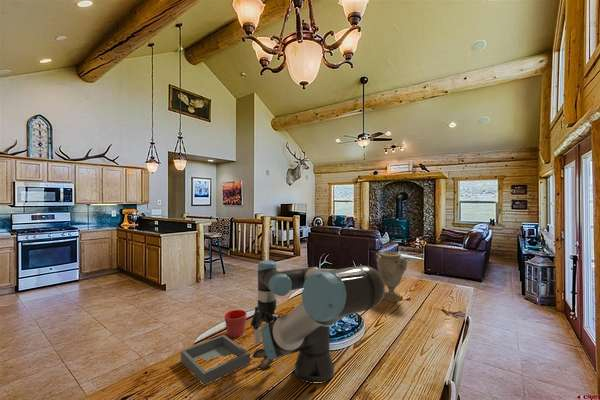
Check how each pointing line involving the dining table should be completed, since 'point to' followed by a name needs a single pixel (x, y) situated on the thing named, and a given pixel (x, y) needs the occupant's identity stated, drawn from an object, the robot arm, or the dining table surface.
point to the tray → (214, 349)
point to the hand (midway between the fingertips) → (267, 350)
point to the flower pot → (235, 322)
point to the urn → (391, 272)
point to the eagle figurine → (266, 360)
